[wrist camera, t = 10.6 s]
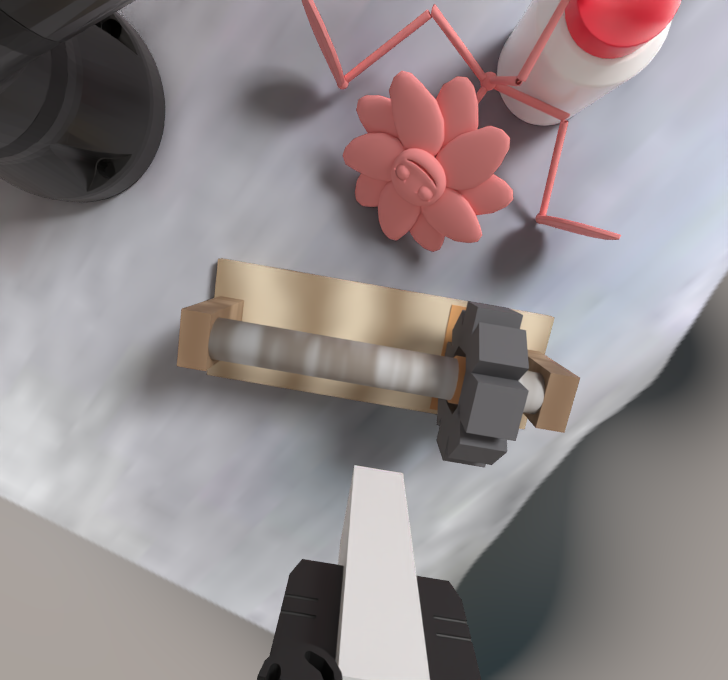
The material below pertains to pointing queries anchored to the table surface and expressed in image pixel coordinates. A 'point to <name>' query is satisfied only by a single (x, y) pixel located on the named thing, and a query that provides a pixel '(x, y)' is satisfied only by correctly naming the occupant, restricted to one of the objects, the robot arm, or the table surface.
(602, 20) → the pill bottle
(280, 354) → the pipe rig
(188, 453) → the table surface
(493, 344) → the square-toothed gear
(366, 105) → the figurine
